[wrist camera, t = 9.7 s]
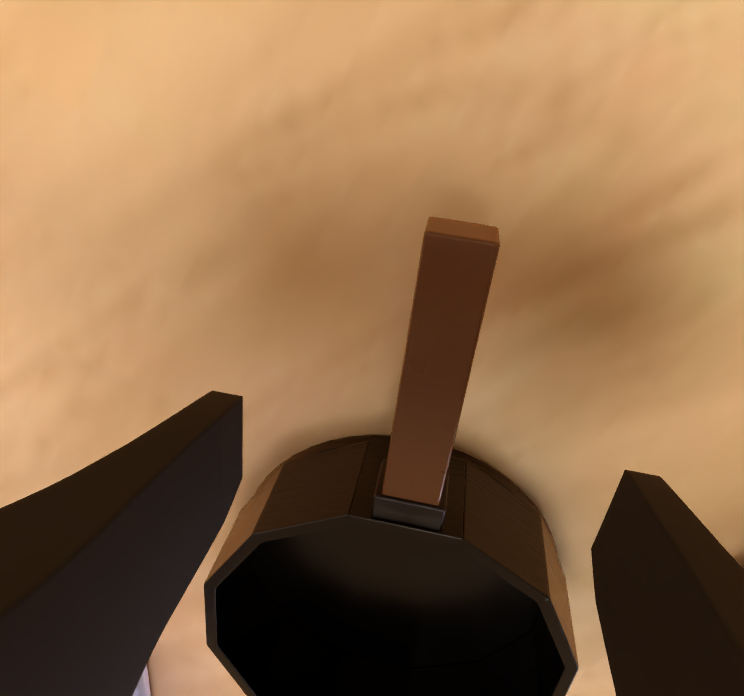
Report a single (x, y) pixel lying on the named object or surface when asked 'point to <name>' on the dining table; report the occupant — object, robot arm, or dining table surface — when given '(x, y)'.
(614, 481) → the dining table surface
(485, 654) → the skillet
